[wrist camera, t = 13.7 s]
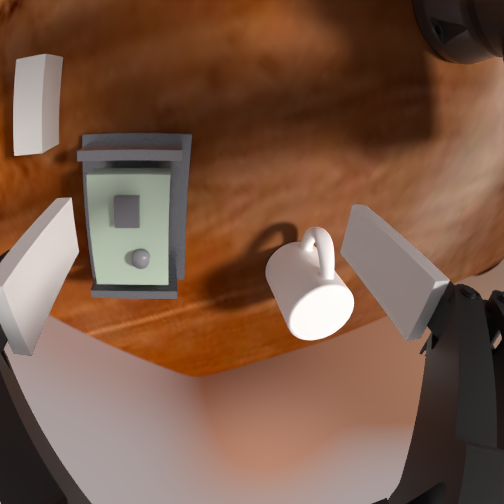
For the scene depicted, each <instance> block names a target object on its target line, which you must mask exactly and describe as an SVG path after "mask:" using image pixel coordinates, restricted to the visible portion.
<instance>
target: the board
mask: <svg viewBox="0 0 504 504" xmlns="http://www.w3.org/2000/svg"><path fill="white" fill-rule="evenodd" d="M170 176H171V168H93V169H92V170H91V171H90V172H89V173H88V174H87V175H86V178H87V198H88V212H89V224H90V234H91V244H92V252H93V260H94V267H95V274H96V280H97V284H124V285H168V276H169V270H168V245H169V199H170Z"/></svg>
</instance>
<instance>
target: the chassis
mask: <svg viewBox="0 0 504 504" xmlns="http://www.w3.org/2000/svg"><path fill="white" fill-rule="evenodd" d="M191 142H192V133H166V132H113V133H86V134H83V135H82V148H81V149H79V150H78V151H77V162H78V161H82V162H83V188H84V204H85V217H86V227H87V237H88V245H89V253H90V261H91V268H92V274H93V279H94V282H93V285H92V288H91V295H92V298H139V299H177V280H184V266H185V235H186V214H187V196H188V180H189V166H190V154H191ZM93 168H171V176H170V199H169V245H168V270H169V276H168V285H124V284H97V280H96V274H95V267H94V260H93V252H92V244H91V234H90V224H89V212H88V198H87V178H86V175H87V174H88V173H89V172H90V171H91V170H92V169H93Z"/></svg>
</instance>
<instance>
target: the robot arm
mask: <svg viewBox="0 0 504 504" xmlns="http://www.w3.org/2000/svg"><path fill="white" fill-rule="evenodd" d="M413 6H414V11H415V15H416V19H417V22H418V24H419V27H420V29H421V31H422V33H423V35H424V37H425V38H426V40H427V41H428V43H429V44H430V46H431V47H432V48H433V49H434V50H435V51H436V52H437V53H438V54H439V55H440V56H441V57H443V58H444V59H446V60H447V61H450V62H452V63H458V64H474V63H477V62H480V61H483V60H486V59H490V58H493V57H503V60H504V0H413ZM78 253H79V248H78V242H77V236H76V229H75V222H74V214H73V206H72V197H71V198H56V200H55V201H54V202H53V203H52V204H51V205H50V206H49V207H48V208H47V209H46V210H45V211H44V212H43V213H42V214H41V215H40V216H39V217H38V219H37V220H36V221H35V222H34V223H33V224H32V225H31V226H30V227H29V229H28V230H27V231H26V232H25V233H24V234H23V235H22V237H21V238H20V239H19V240H18V241H17V243H16V244H15V245H14V246H13V247H12V249H11V250H8V251H6V252H5V253H4V254H2V255H1V256H0V502H1V504H91V502H90V501H89V500H88V499H87V497H86V496H85V495H84V493H83V492H82V491H81V489H80V488H79V487H78V485H77V484H76V483H75V481H74V480H73V478H72V477H71V475H70V474H69V473H68V471H67V470H66V468H65V467H64V465H63V464H62V462H61V461H60V459H59V458H58V456H57V455H56V453H55V451H54V450H53V448H52V446H51V445H50V443H49V441H48V440H47V438H46V436H45V435H44V433H43V431H42V430H41V427H40V426H39V424H38V422H37V420H36V418H35V416H34V415H33V413H32V411H31V409H30V407H29V405H28V403H27V401H26V399H25V397H24V394H23V392H22V390H21V388H20V386H19V384H18V381H17V379H16V377H15V374H14V372H13V370H12V367H11V365H10V362H9V360H8V357H7V355H6V353H5V351H4V347H5V345H6V343H7V341H8V343H9V345H10V347H11V349H12V351H13V353H14V354H20V355H27V356H32V354H33V351H34V349H35V346H36V343H37V341H38V339H39V336H40V334H41V331H42V329H43V326H44V324H45V322H46V319H47V317H48V315H49V312H50V310H51V308H52V306H53V304H54V301H55V299H56V297H57V295H58V293H59V291H60V289H61V287H62V284H63V282H64V280H65V278H66V276H67V274H68V272H69V270H70V268H71V266H72V265H73V263H74V261H75V259H76V257H77V255H78ZM340 253H341V255H342V256H343V257H344V258H345V260H346V261H347V262H348V263H349V265H350V266H351V267H352V269H353V270H354V271H355V272H356V274H357V275H358V276H359V278H360V279H361V280H362V282H363V283H364V284H365V285H366V287H367V288H368V289H369V291H370V292H371V293H372V295H373V296H374V297H375V299H376V300H377V301H378V303H379V304H380V305H381V307H382V308H383V310H384V311H385V312H386V314H387V315H388V316H389V318H390V319H391V320H392V322H393V323H394V325H395V326H396V327H397V329H398V330H399V332H400V333H401V334H402V336H403V337H404V339H405V340H406V341H409V340H415V339H420V338H421V336H422V335H423V333H424V331H425V329H426V327H427V326H428V328H429V329H430V330H431V334H430V336H429V338H428V339H427V341H426V343H425V344H424V346H423V348H422V349H421V351H420V354H422V353H423V352H424V351H425V350H426V355H425V356H426V359H425V367H424V375H423V382H422V388H421V394H420V400H419V406H418V412H417V416H416V421H415V426H414V431H413V435H412V439H411V444H410V448H409V452H408V455H407V459H406V463H405V467H404V470H403V474H402V477H401V480H400V483H399V485H398V487H397V488H396V490H395V491H394V492H393V493H392V495H391V496H390V498H389V500H387V498H385V499H383V500H380V501H378V502H375V503H372V504H504V292H501V291H497V290H495V291H493V292H492V294H491V296H490V298H489V300H483V299H482V298H481V296H480V294H479V293H478V292H477V291H475V290H474V289H473V288H471V287H469V286H467V285H464V284H457V285H454V284H453V283H452V282H451V281H450V280H449V279H448V278H447V277H446V276H445V275H444V274H443V273H442V272H441V271H440V270H439V269H438V268H437V267H436V266H434V265H433V264H432V263H431V262H430V261H429V260H428V259H427V258H426V257H425V256H424V255H423V254H422V253H420V252H419V251H418V250H417V249H416V248H415V247H414V246H413V245H412V244H411V243H409V242H408V241H407V240H406V239H405V238H404V237H403V236H401V235H400V234H399V233H398V232H397V231H396V230H395V229H393V228H392V227H391V226H390V225H389V224H388V223H386V222H385V221H384V220H383V219H382V218H380V217H379V216H378V215H377V214H376V213H374V212H373V211H372V210H371V209H369V208H368V207H367V206H366V205H357V204H352V209H351V213H350V217H349V221H348V225H347V229H346V233H345V237H344V240H343V244H342V248H341V252H340ZM500 333H501V336H502V340H501V342H500V344H499V345H498V346H497V348H496V349H495V348H494V346H493V344H494V342H495V341H496V339H497V338H498V336H499V334H500Z"/></svg>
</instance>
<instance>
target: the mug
mask: <svg viewBox="0 0 504 504" xmlns="http://www.w3.org/2000/svg"><path fill="white" fill-rule="evenodd" d="M314 242H315V243H316V246H317V248H316V247H315V246H313V244H314ZM265 274H266V279H267V282H268V284H269V286H270V288H271V291H272V293H273V295H274V297H275V299H276V302H277V304H278V306H279V308H280V310H281V313H282V315H283V317H284V319H285V321H286V324H287V326H288V328H289V330H290V332H291V333H292V334H293V335H294V336H296V337H297V338H300V339H303V340H317V339H321V338H324V337H327V336H329V335H331V334H333V333H334V332H336V331H337V330H338V329H340V328H341V327H342V326H343V325H344V324H345V323H346V321H347V320H348V319H349V317H350V315H351V313H352V311H353V307H354V299H353V295H352V293H351V292H350V290H349V289H348V288H347V286H346V285H345V284H344V282H343V281H342V280H341V279H340V277H339V276H338V275H337V273H336V272H335V271H334V248H333V243H332V239H331V237H330V235H329V233H328V232H327V231H326V230H324V229H323V228H321V227H316V226H314V227H310V228H308V229H307V230H306V232H305V234H304V236H303V238H302V241H301V242H292V243H289V244H286V245H284V246H282V247H280V248H279V249H278V250H277V251H275V252H274V253H273V255H272V256H271V257H270V259H269V261H268V263H267V266H266V271H265Z"/></svg>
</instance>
